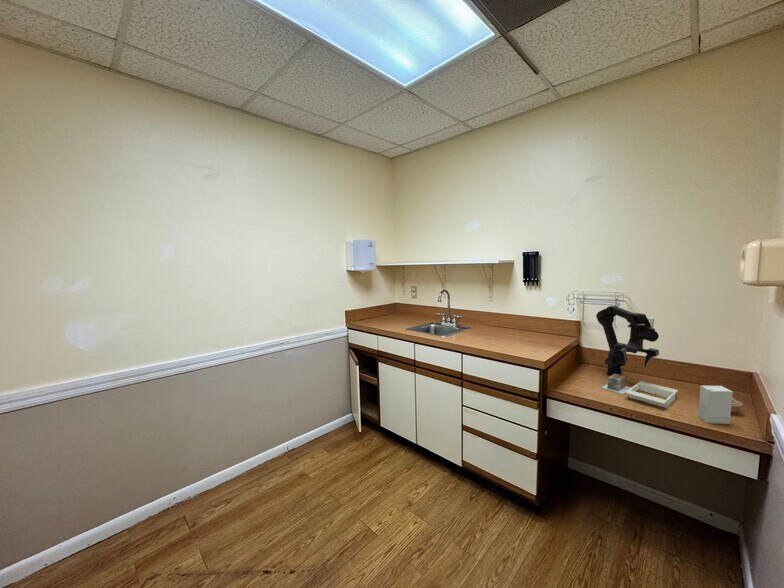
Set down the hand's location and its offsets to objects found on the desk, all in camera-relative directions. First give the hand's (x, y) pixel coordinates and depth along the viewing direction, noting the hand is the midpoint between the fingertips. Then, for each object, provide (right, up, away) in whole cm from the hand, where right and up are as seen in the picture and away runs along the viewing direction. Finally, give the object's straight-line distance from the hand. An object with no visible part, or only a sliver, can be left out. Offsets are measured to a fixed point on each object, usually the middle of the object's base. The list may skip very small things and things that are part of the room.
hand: (634, 364), depth 171 cm
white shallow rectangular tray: (-3, -13, -14) cm, 20 cm away
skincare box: (+5, -16, -36) cm, 40 cm away
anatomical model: (+22, -14, -22) cm, 35 cm away
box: (-12, -12, -2) cm, 17 cm away
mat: (-12, -12, -2) cm, 17 cm away
